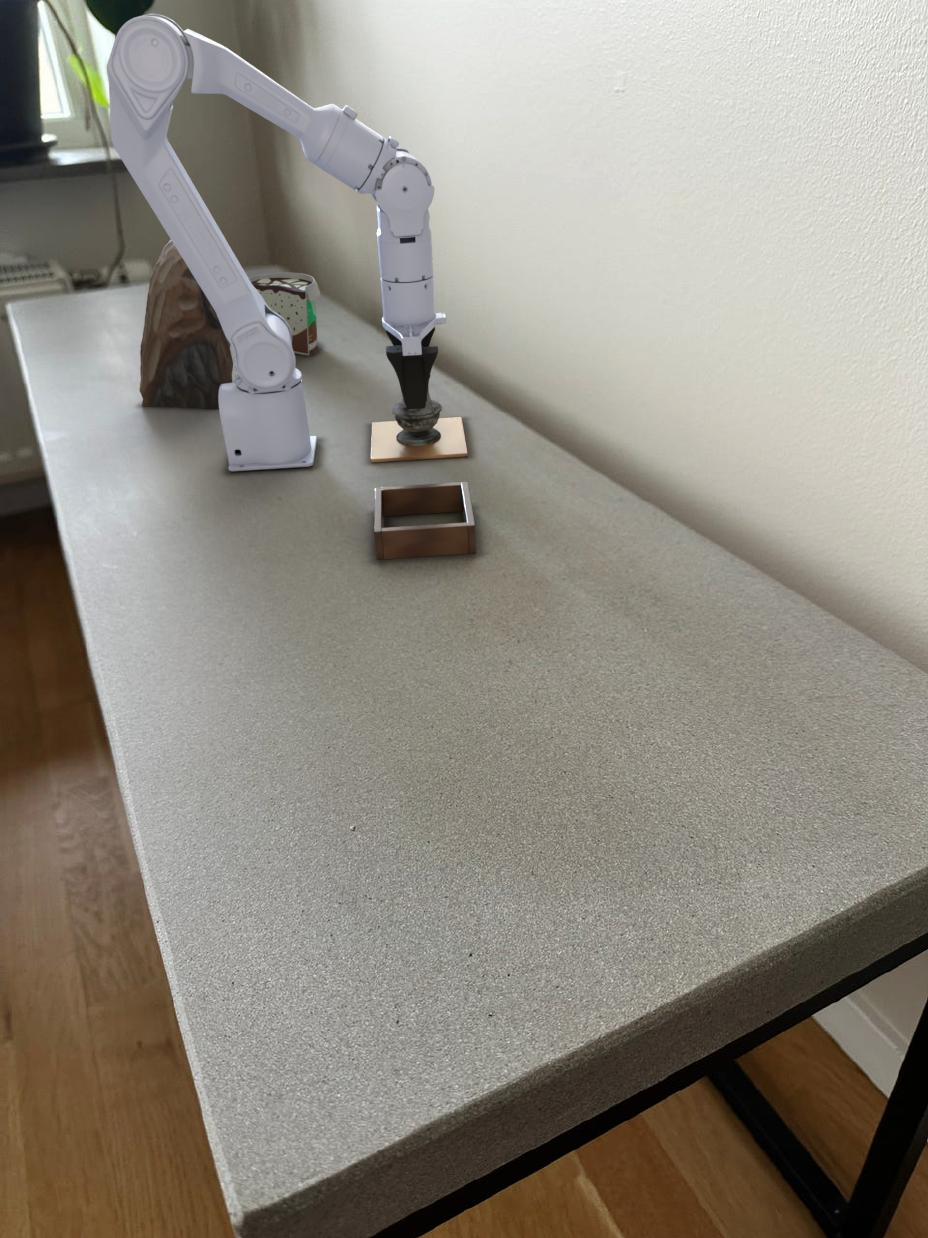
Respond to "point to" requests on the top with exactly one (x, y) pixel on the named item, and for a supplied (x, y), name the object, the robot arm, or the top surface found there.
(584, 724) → the top surface
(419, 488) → the holder
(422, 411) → the salt shaker
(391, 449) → the coaster
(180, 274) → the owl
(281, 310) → the food container
